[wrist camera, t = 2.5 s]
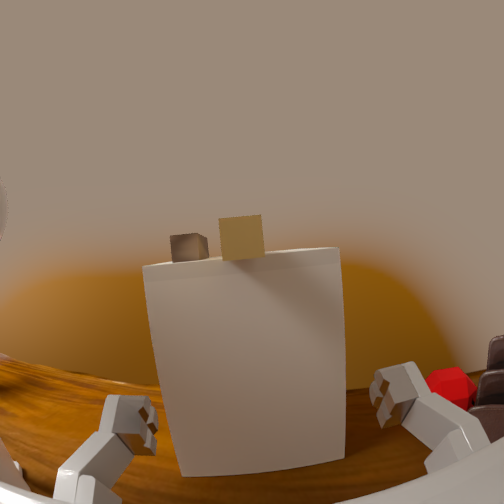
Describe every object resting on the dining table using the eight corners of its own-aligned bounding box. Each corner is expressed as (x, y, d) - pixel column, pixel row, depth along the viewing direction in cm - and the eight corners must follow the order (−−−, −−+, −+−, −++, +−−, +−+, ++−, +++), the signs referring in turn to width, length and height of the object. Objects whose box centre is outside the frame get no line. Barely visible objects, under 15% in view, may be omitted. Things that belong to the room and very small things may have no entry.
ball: (475, 428, 30) (484, 380, 30) (422, 438, 32) (429, 390, 32) (460, 403, 38) (466, 359, 38) (414, 411, 40) (417, 366, 40)
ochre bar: (222, 261, 23) (218, 218, 23) (228, 256, 47) (226, 235, 47) (265, 257, 23) (260, 214, 23) (249, 254, 47) (247, 233, 47)
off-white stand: (182, 476, 31) (142, 266, 31) (197, 407, 51) (176, 260, 51) (344, 458, 33) (338, 247, 32) (310, 395, 52) (300, 248, 52)
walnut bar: (172, 263, 35) (169, 235, 35) (189, 259, 49) (187, 240, 49) (199, 260, 35) (196, 232, 35) (209, 257, 49) (207, 238, 49)
